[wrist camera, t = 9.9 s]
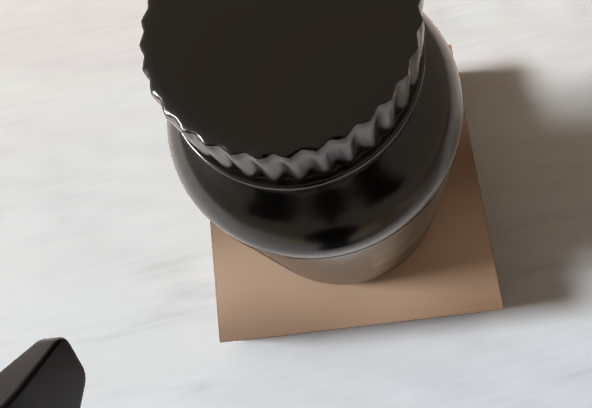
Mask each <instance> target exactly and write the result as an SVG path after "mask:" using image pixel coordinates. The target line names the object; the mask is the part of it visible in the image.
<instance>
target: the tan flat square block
mask: <svg viewBox="0 0 592 408" xmlns="http://www.w3.org/2000/svg"><path fill="white" fill-rule="evenodd" d="M448 46H449V49H450V51H451V53H452V55H453V52H452V47H451V45H448ZM210 225H211V237H212V250H213V262H214V275H215V287H216V300H217V312H218V325H219V337H220V342H229V341H239V340H247V339H256V338H264V337H273V336H281V335H289V334H298V333H306V332H315V331H323V330H332V329H340V328H349V327H357V326H366V325H374V324H383V323H391V322H399V321H408V320H416V319H425V318H433V317H442V316H450V315H459V314H467V313H476V312H484V311H492V310H499V309H503V303H502V298H501V293H500V288H499V283H498V278H497V273H496V268H495V263H494V258H493V253H492V248H491V243H490V238H489V233H488V228H487V223H486V218H485V213H484V208H483V203H482V198H481V193H480V188H479V183H478V178H477V173H476V168H475V163H474V158H473V153H472V148H471V143H470V138H469V133H468V128H467V123H466V118H465V113H464V108H463V119H462V128H461V135H460V140H459V145H458V149H457V152H456V155H455V158H454V162H453V165H452V168H451V170H450V173H449V176H448V179H447V182H446V185H445V188H444V191H443V194H442V196H441V199H440V202H439V205H438V208H437V211H436V214H435V217H434V219H433V221H432V224H431V226H430V228H429V230H428V232H427V234H426V236H425V238H424V239H423V241H422V242H421V244H420V245H419V246H418V248H417V249H416V250H415V251H414V252H413V254H412V255H411V256H410V257H409V258H407V259H406V260H405V261H404V262H403V263H402V264H400V265H399V266H398V267H396V268H395V269H393V270H392V271H390V272H388V273H386V274H384V275H382V276H380V277H378V278H375V279H372V280H369V281H366V282H362V283H356V284H346V285H335V284H326V283H320V282H316V281H312V280H310V279H307V278H304V277H302V276H300V275H297V274H295V273H293V272H291V271H289V270H288V269H286V268H284V267H282V266H281V265H279V264H277V263H275V262H274V261H272V260H270V259H268V258H267V257H265V256H263V255H261V254H260V253H258V252H256V251H254V250H253V249H251V248H249V247H247V246H246V245H244V244H242V243H241V242H239V241H237V240H236V239H234V238H232V237H231V236H229V235H228V234H227V233H225V232H224V231H223V230H221V229H220V228H219V227H218V226H216V225H215V224H214V223H213V222H212V221H211V220H210Z"/></svg>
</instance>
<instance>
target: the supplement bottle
mask: <svg viewBox="0 0 592 408" xmlns="http://www.w3.org/2000/svg"><path fill="white" fill-rule="evenodd" d="M141 22H142V28H143V31H144V33H143V36H142V38H141V42H140V45H139V46H140V48H141V51H142V53H143V55H144V61H143V72H144V74H145V75H146V77H147V78H148V79H149V80H150V89H151V94H152V96H153V98H154V99H155V100H156V101H157V102H158V103H159V104H160V105H161V106H162V109H163V111H164V114H165V116H166V118H167V132H168V142H169V147H170V152H171V156H172V160H173V163H174V166H175V169H176V171H177V173H178V176H179V178H180V181H181V182H182V184H183V186H184V188H185V190H186V192H187V193H188V195H189V196H190V198H191V199H192V200H193V202H194V203H195V204H196V206H197V207H198V208H199V209H200V210H201V211H202V213H203V214H204V215H205V216H206V217H208V218H209V219H210V220H211V221H212V222H213V223H214V224H215V225H216V226H218V227H219V228H220V229H221V230H223V231H224V232H225V233H227V234H228V235H229V236H231V237H232V238H234V239H236V240H237V241H239V242H241V243H242V244H244V245H246V246H247V247H249V248H251V249H253V250H254V251H256V252H258V253H260V254H261V255H263V256H265V257H267V258H268V259H270V260H272V261H274V262H275V263H277V264H279V265H281V266H282V267H284V268H286V269H288V270H289V271H291V272H293V273H295V274H297V275H300V276H302V277H304V278H307V279H310V280H312V281H316V282H320V283H326V284H335V285H346V284H356V283H362V282H366V281H369V280H372V279H375V278H378V277H380V276H382V275H384V274H386V273H388V272H390V271H392V270H393V269H395V268H396V267H398V266H399V265H400V264H402V263H403V262H404V261H405V260H406V259H407V258H409V257H410V256H411V255H412V254H413V252H414V251H415V250H416V249H417V248H418V246H419V245H420V244H421V242H422V241H423V239H424V238H425V236H426V234H427V232H428V230H429V228H430V226H431V224H432V221H433V219H434V217H435V214H436V211H437V208H438V205H439V202H440V199H441V196H442V194H443V191H444V188H445V185H446V182H447V179H448V176H449V173H450V170H451V168H452V165H453V162H454V158H455V155H456V152H457V149H458V145H459V140H460V135H461V128H462V119H463V94H462V86H461V81H460V77H459V72H458V69H457V66H456V63H455V60H454V57H453V55H452V53H451V51H450V49H449V46H448V44H447V42H446V41H445V39H444V38H443V36H442V34H441V33H440V31H439V30H438V29H437V27H436V26H435V25H434V23H433V22H432V21H431V20H430V18H429V17H428V16H427V15H426V14H425V13H424V12H423V0H148V9H147V11H146V13H145V15H144V16H143V18H142V20H141Z"/></svg>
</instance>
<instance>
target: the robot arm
mask: <svg viewBox="0 0 592 408" xmlns="http://www.w3.org/2000/svg"><path fill="white" fill-rule="evenodd" d="M84 387H85V372H84V369H83V366H82V365H81V363H80V361H79V359H78V358H77V356H76V354H75V352H74V351H73V349H72V347H71V345H70V344H69V342H68V341H67V340H66V339H65V338H61V337H57V338H49V339H43V340H40V341H38V342H36V343H35V344H34V345H33V346H31V347H30V348H29V349H28V350H27V351H25V352H24V353H23V354H22V355H21V356H19V357H18V358H17V359H16V360H14V361H13V362H12V363H11V364H10V365H8V366H7V367H6V368H5V369H4V370H2V371H1V372H0V408H80V407H81V402H82V397H83V392H84Z"/></svg>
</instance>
